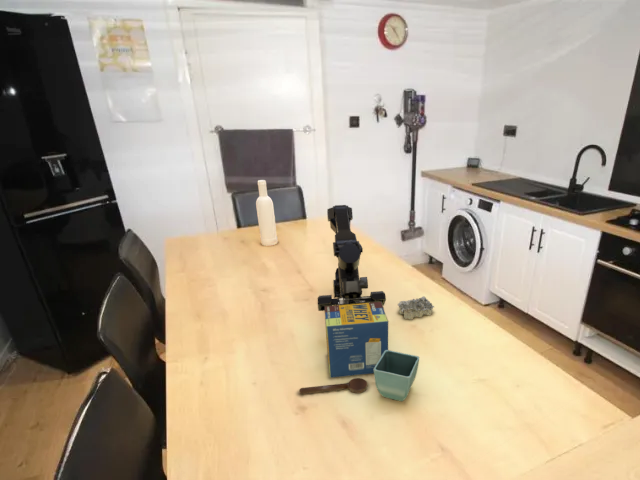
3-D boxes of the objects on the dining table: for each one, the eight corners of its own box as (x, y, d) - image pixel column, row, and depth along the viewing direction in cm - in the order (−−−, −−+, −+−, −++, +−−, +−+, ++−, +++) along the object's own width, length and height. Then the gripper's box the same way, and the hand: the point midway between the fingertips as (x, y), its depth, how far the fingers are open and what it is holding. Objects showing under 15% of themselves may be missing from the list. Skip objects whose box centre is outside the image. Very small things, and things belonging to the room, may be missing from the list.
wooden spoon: (299, 399, 97) (298, 395, 96) (299, 387, 101) (299, 382, 100) (368, 392, 99) (368, 387, 99) (365, 380, 103) (365, 375, 103)
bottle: (275, 246, 195) (267, 182, 182) (259, 246, 195) (250, 182, 182) (279, 240, 202) (272, 178, 189) (263, 240, 202) (255, 178, 189)
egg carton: (405, 321, 130) (405, 309, 128) (396, 310, 137) (396, 299, 135) (435, 314, 134) (435, 303, 132) (424, 304, 140) (425, 294, 138)
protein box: (327, 355, 113) (323, 305, 106) (382, 349, 115) (382, 301, 109) (329, 378, 104) (325, 326, 97) (389, 372, 106) (389, 320, 99)
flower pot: (418, 386, 101) (420, 355, 97) (409, 409, 94) (410, 377, 90) (385, 378, 104) (385, 349, 100) (373, 401, 96) (372, 369, 92)
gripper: (315, 268, 108) (319, 325, 103) (384, 264, 111) (392, 319, 105) (316, 284, 118) (320, 336, 113) (380, 279, 121) (386, 330, 116)
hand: (354, 330), depth 111 cm, fingers closed, pressing on protein box
